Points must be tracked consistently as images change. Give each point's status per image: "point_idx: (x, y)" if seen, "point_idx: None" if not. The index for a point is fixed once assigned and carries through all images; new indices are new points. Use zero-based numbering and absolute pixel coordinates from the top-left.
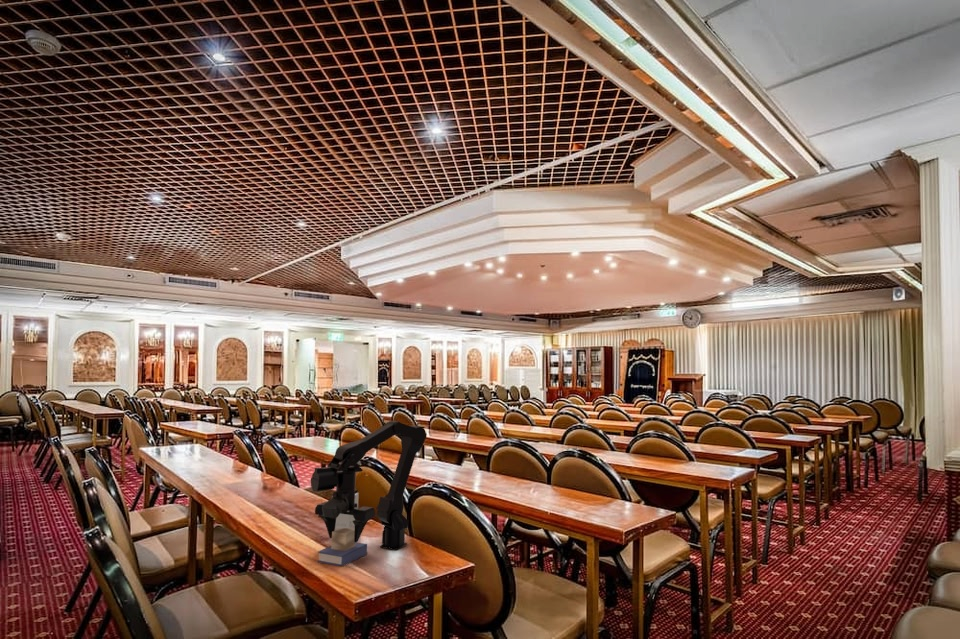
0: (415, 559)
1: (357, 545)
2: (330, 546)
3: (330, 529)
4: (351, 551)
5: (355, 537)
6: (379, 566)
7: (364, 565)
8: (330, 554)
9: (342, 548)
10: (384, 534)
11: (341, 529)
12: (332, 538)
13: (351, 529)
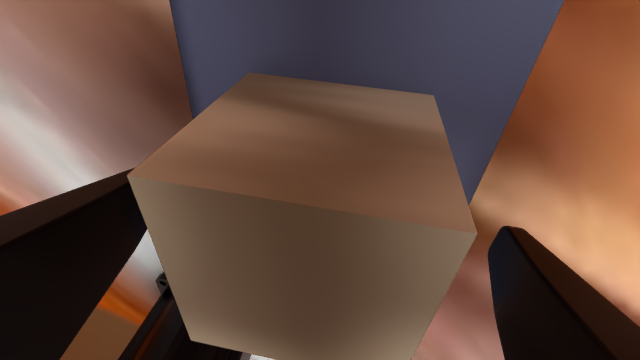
0: (4, 197)
1: None
2: (477, 162)
3: (568, 334)
4: (190, 89)
5: (90, 191)
6: (15, 48)
7: (100, 29)
8: None
9: (272, 85)
10: (218, 357)
11: (360, 335)
12: (436, 152)
13: (234, 339)
